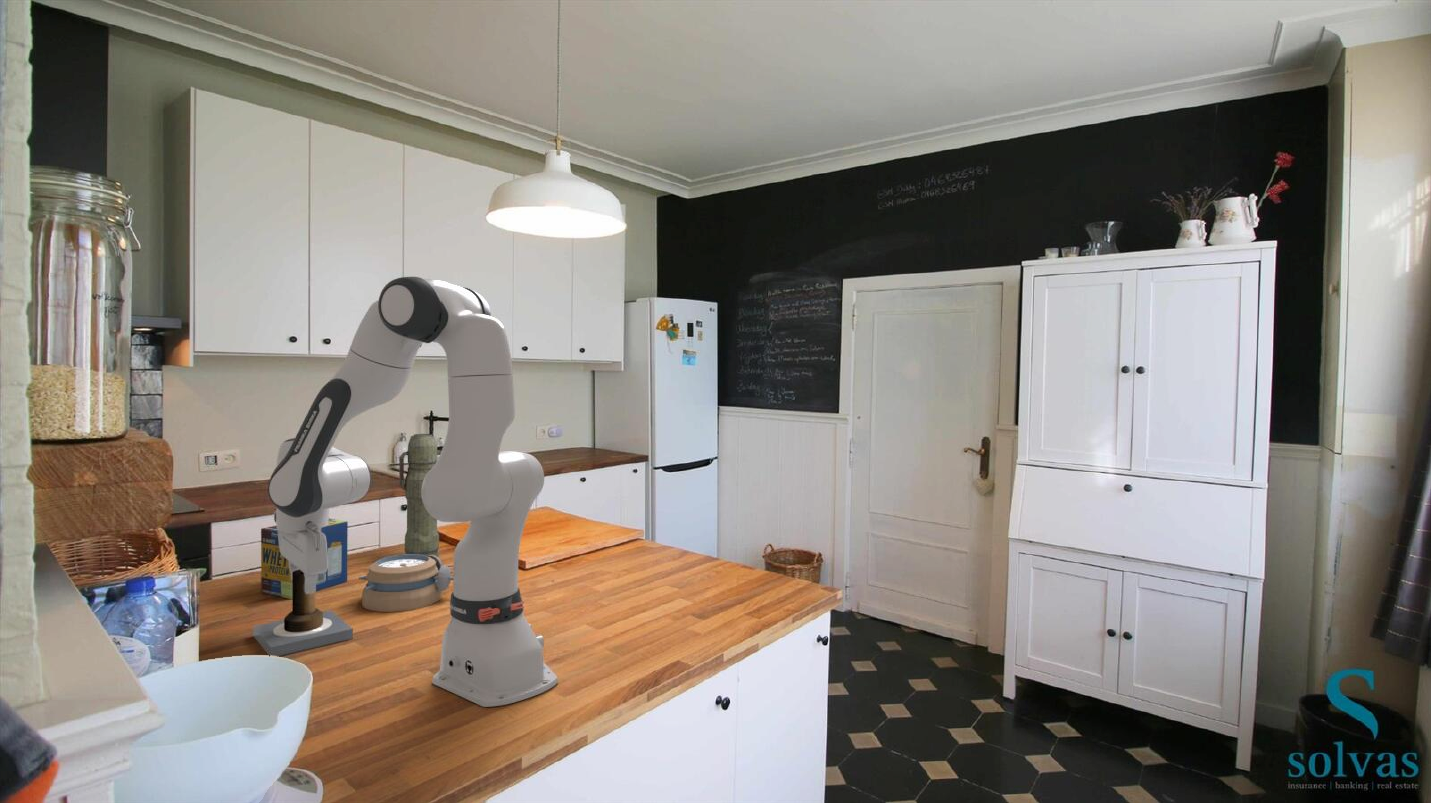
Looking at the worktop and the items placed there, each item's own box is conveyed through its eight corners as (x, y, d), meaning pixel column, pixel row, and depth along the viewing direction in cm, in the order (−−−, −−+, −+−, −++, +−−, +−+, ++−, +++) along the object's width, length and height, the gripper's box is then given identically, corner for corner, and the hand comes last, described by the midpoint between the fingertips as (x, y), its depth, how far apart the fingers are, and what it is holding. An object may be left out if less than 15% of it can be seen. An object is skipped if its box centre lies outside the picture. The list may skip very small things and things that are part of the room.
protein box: (259, 593, 162) (259, 528, 162) (318, 576, 177) (318, 516, 176) (291, 600, 159) (291, 533, 158) (348, 581, 173) (349, 520, 172)
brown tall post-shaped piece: (318, 618, 142) (318, 531, 141) (327, 627, 137) (327, 537, 136) (280, 625, 137) (280, 536, 136) (288, 635, 133) (288, 542, 132)
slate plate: (352, 638, 137) (352, 627, 137) (270, 658, 127) (270, 646, 127) (331, 619, 147) (331, 609, 147) (253, 636, 137) (253, 625, 137)
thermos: (395, 557, 195) (395, 434, 194) (438, 551, 202) (439, 432, 201) (403, 565, 188) (404, 436, 187) (448, 558, 195) (448, 435, 194)
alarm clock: (356, 556, 163) (457, 544, 176) (355, 595, 163) (457, 580, 176) (367, 575, 149) (477, 560, 162) (367, 617, 149) (476, 599, 162)
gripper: (337, 524, 131) (337, 596, 132) (306, 507, 146) (306, 572, 146) (299, 529, 127) (299, 604, 127) (271, 511, 141) (272, 578, 142)
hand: (303, 587), depth 137 cm, fingers open, 8 cm apart
